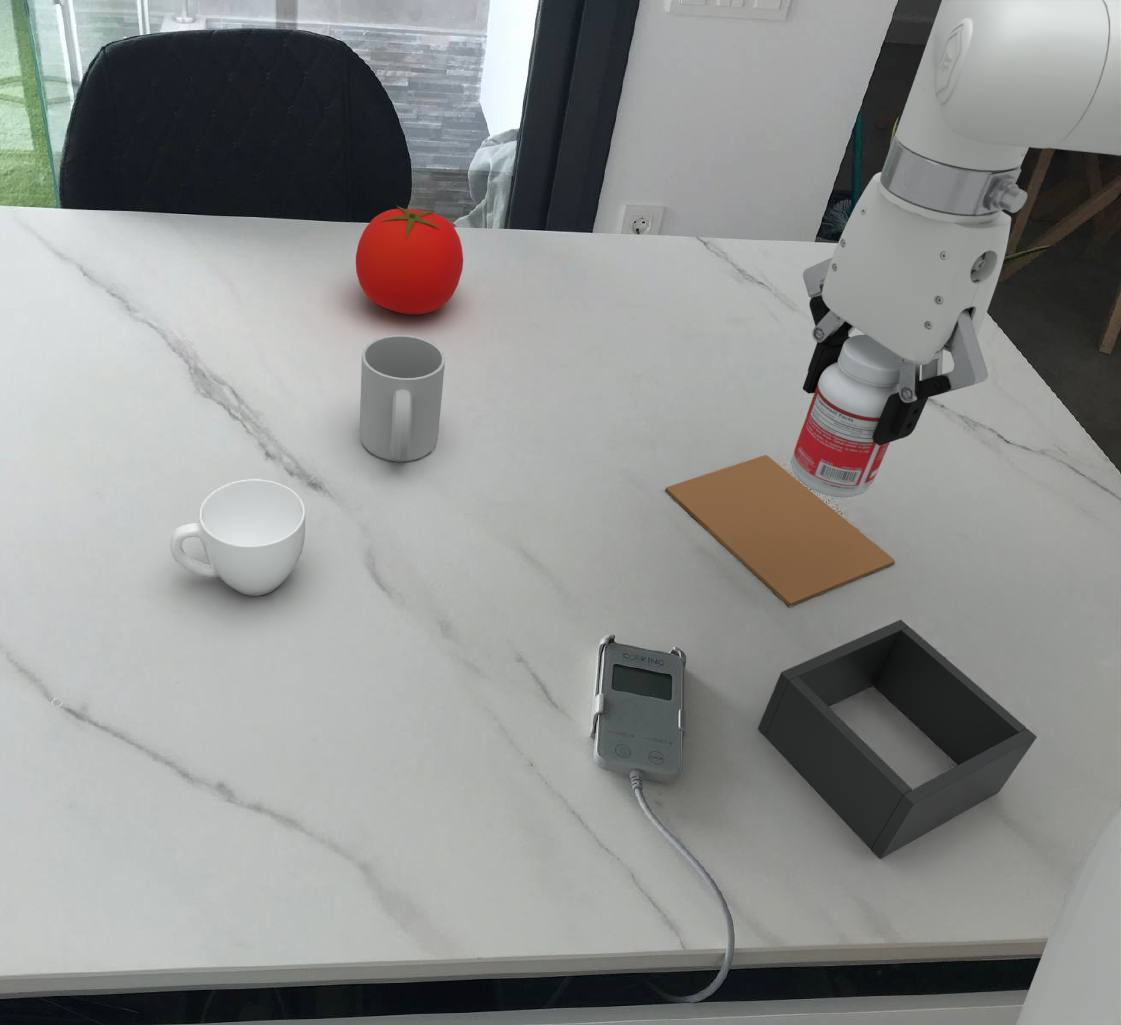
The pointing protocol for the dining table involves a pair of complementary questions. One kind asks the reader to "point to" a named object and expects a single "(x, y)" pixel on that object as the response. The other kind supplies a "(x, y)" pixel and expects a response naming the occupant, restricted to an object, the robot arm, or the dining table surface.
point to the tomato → (409, 260)
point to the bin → (927, 700)
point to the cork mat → (779, 529)
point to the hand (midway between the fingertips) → (854, 411)
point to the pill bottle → (847, 420)
